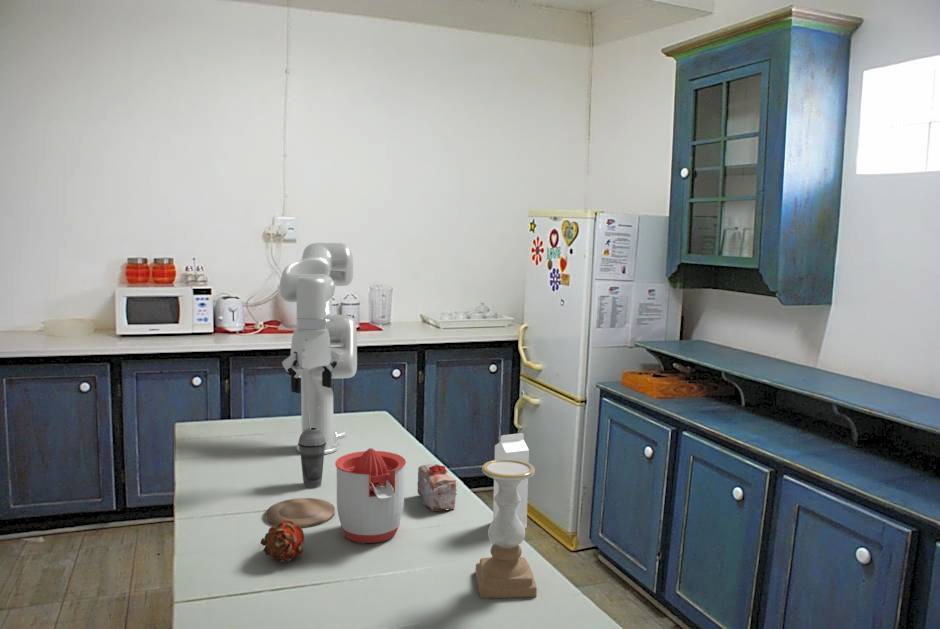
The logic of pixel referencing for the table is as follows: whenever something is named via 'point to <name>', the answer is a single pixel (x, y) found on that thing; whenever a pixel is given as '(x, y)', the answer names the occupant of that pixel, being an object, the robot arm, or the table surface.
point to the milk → (516, 450)
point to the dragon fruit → (283, 541)
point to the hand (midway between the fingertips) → (311, 389)
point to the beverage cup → (312, 455)
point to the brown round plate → (301, 512)
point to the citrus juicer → (370, 494)
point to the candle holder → (506, 537)
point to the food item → (436, 487)
